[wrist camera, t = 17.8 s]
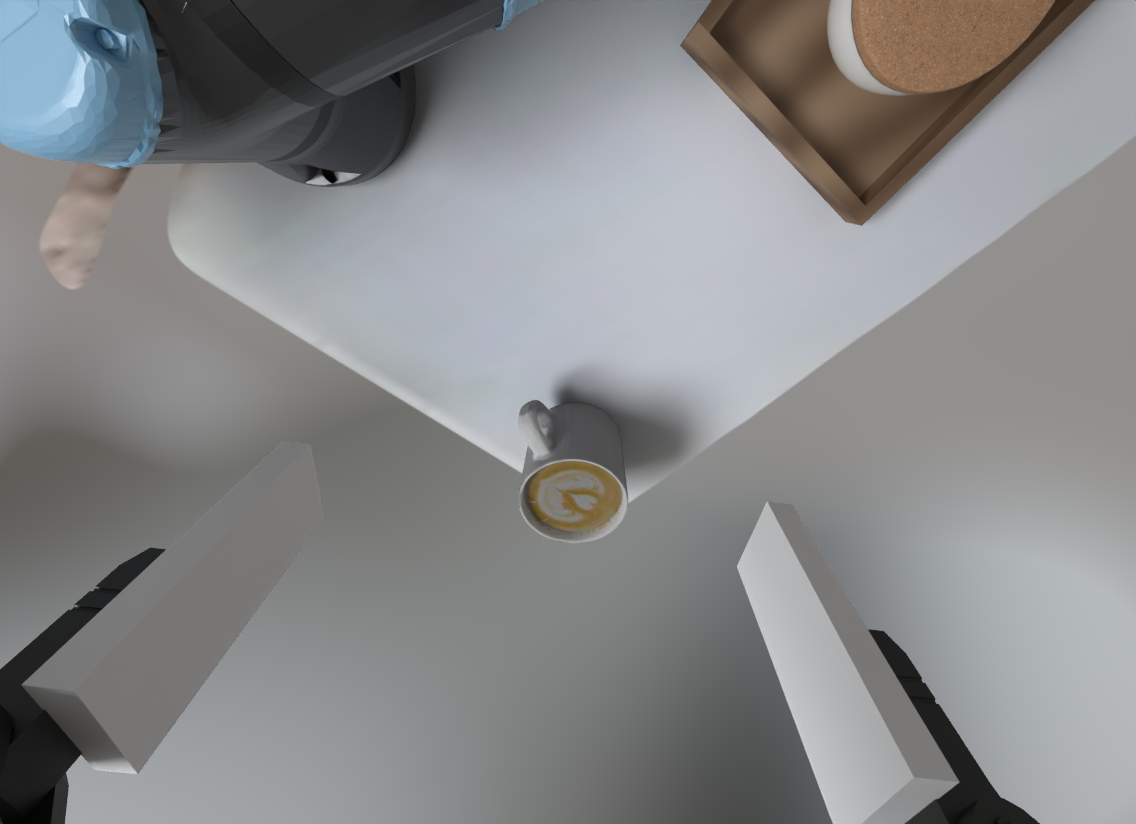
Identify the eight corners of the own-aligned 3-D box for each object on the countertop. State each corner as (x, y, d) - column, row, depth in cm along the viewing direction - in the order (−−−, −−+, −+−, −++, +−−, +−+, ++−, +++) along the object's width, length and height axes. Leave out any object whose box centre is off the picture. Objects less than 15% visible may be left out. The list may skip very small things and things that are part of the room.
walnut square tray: (680, 45, 32) (687, 37, 29) (932, -315, 24) (967, -363, 22) (845, 221, 37) (861, 225, 35) (1095, -26, 29) (1137, -41, 27)
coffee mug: (631, 464, 50) (641, 528, 41) (550, 487, 52) (543, 553, 43) (592, 361, 44) (593, 410, 35) (501, 391, 46) (481, 446, 37)
